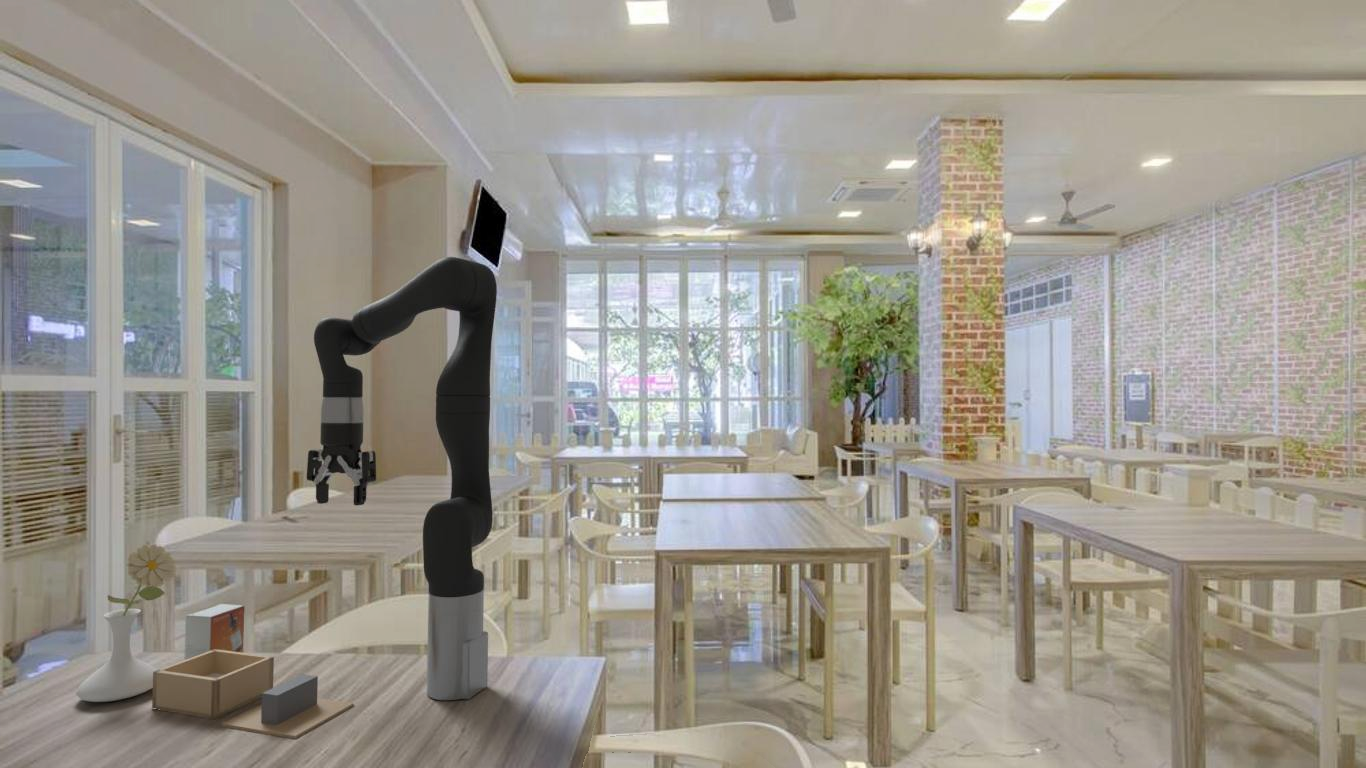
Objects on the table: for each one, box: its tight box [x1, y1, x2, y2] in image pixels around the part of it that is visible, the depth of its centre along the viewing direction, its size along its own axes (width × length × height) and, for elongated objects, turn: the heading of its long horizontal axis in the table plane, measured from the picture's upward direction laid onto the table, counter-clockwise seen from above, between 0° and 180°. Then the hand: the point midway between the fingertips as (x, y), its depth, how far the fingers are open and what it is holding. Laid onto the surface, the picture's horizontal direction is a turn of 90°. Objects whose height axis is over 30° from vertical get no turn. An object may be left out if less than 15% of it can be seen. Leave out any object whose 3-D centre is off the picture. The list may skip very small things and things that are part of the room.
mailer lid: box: [221, 673, 355, 740], centre depth 112 cm, size 14×12×6 cm
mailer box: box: [151, 649, 275, 720], centre depth 118 cm, size 13×11×6 cm
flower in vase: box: [75, 543, 177, 703], centre depth 121 cm, size 13×11×25 cm
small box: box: [184, 603, 245, 660], centre depth 133 cm, size 8×6×10 cm
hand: (340, 504), depth 137 cm, fingers open, 8 cm apart
